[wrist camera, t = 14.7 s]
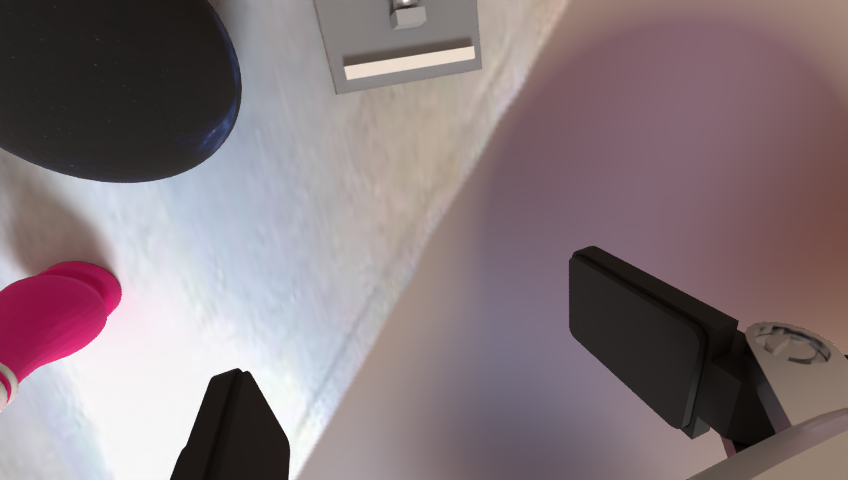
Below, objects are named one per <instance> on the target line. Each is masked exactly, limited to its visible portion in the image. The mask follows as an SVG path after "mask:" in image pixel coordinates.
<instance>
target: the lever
mask: <svg viewBox="0 0 848 480" xmlns="http://www.w3.org/2000/svg"><path fill="white" fill-rule="evenodd" d="M393 6H394V10H401V9H409V8H415V7H417V6H418V1H417V0H393Z"/></svg>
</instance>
